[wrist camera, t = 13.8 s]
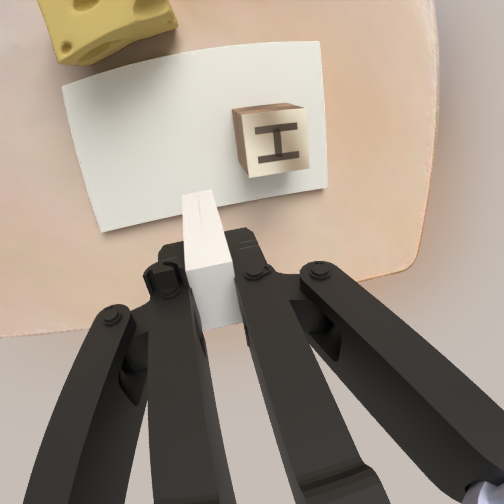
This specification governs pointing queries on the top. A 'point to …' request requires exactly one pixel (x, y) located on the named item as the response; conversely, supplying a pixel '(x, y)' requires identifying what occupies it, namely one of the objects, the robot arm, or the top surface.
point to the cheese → (102, 26)
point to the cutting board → (189, 128)
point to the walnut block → (271, 138)
